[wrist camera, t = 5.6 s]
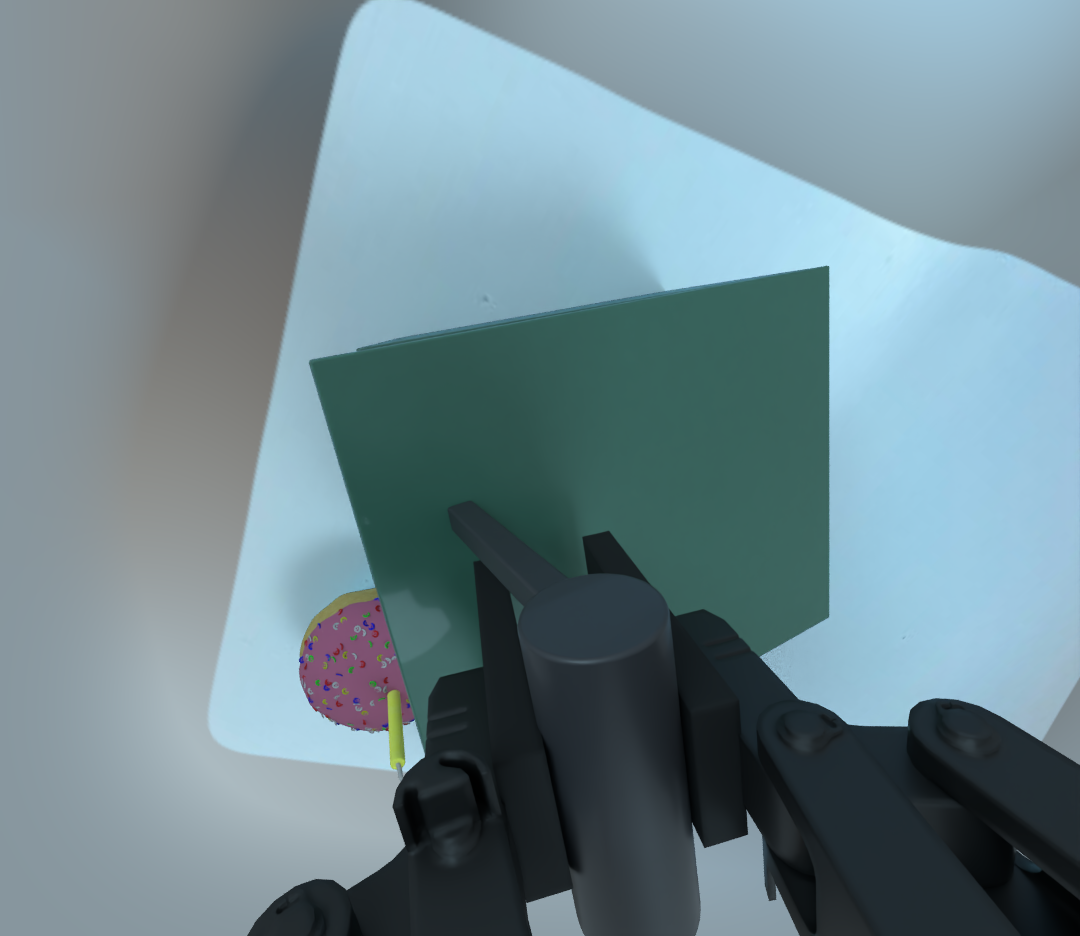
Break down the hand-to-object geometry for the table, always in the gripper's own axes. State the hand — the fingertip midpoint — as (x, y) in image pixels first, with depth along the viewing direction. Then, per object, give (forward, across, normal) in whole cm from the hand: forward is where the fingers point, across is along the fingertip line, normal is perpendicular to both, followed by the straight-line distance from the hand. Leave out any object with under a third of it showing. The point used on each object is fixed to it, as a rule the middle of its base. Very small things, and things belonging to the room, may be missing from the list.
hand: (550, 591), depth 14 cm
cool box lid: (+3, +4, 0) cm, 5 cm away
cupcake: (+19, -9, -10) cm, 23 cm away
